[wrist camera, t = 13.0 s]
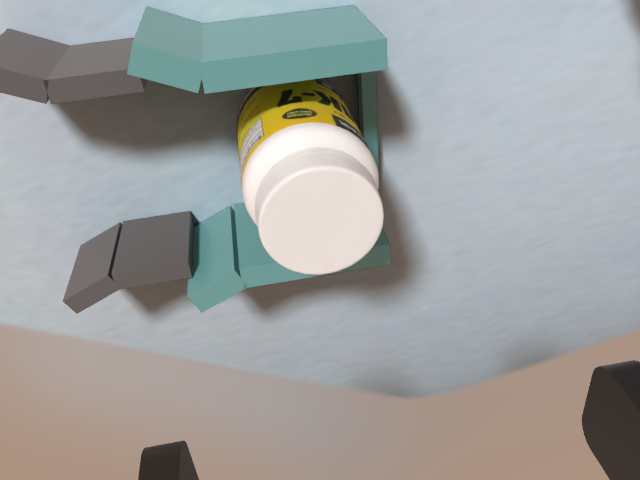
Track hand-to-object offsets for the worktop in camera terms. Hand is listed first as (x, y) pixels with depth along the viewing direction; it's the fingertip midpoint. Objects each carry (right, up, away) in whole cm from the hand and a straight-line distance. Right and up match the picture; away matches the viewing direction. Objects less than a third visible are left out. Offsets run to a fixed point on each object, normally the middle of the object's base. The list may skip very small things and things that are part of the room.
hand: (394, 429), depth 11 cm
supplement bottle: (-3, +9, +14) cm, 17 cm away
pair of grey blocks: (-10, +7, +13) cm, 18 cm away
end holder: (-3, +9, +14) cm, 16 cm away
